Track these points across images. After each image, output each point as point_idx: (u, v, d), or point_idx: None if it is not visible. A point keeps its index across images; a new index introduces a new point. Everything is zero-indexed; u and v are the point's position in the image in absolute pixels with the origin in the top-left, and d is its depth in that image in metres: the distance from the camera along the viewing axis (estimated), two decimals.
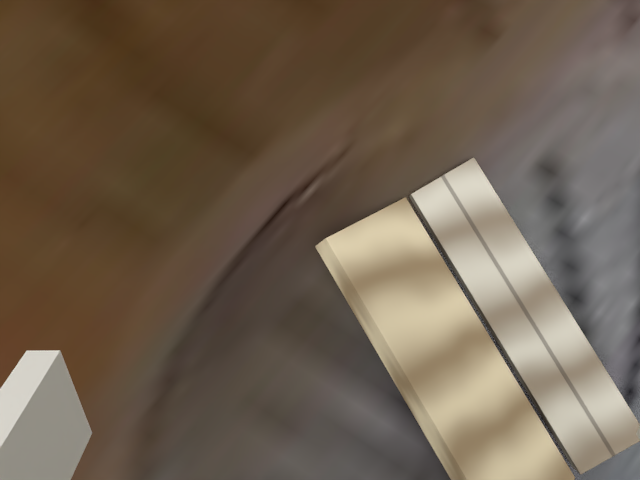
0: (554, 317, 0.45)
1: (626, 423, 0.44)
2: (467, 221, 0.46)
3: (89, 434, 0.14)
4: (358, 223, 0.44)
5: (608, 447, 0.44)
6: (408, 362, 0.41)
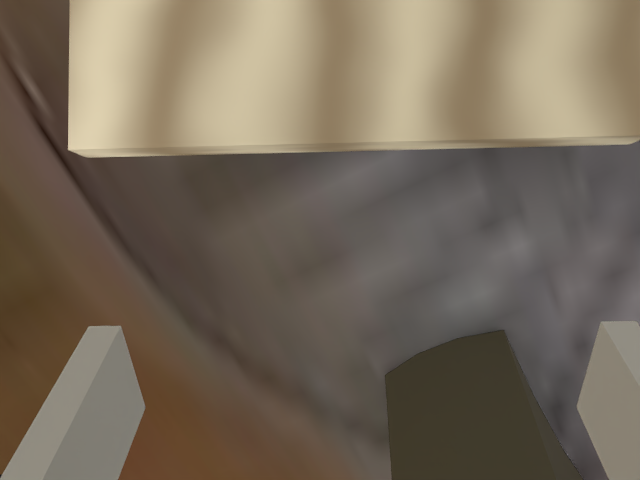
0: None
1: None
2: None
3: (143, 408, 0.14)
4: (71, 77, 0.26)
5: None
6: (304, 126, 0.25)
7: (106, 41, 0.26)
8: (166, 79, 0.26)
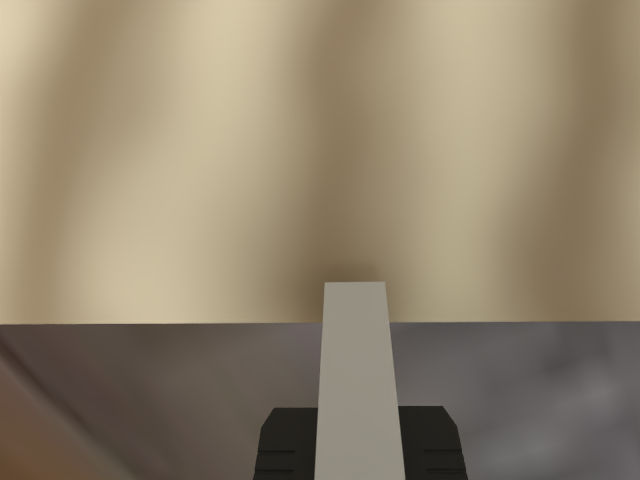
0: None
1: None
2: None
3: None
4: None
5: None
6: (280, 293, 0.15)
7: None
8: (47, 208, 0.15)
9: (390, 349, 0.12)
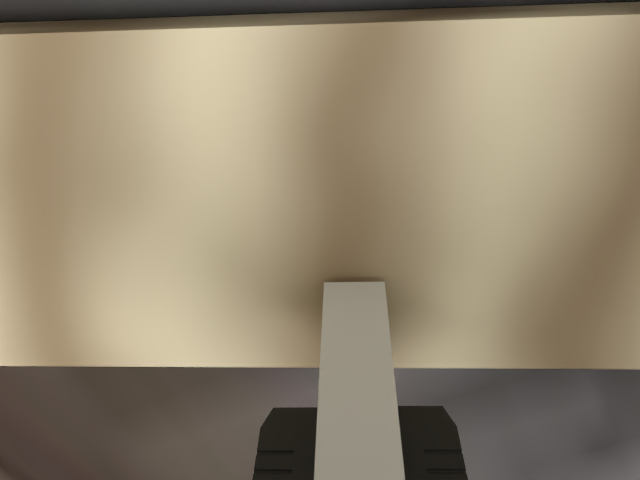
0: None
1: None
2: None
3: None
4: None
5: None
6: (291, 345, 0.15)
7: None
8: (42, 273, 0.15)
9: (390, 349, 0.12)
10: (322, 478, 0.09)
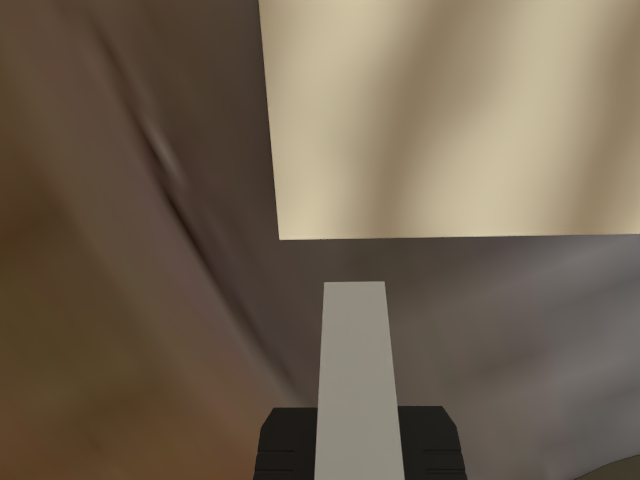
0: None
1: None
2: None
3: None
4: (276, 161, 0.21)
5: None
6: (558, 217, 0.22)
7: (317, 116, 0.20)
8: (395, 163, 0.21)
9: (389, 349, 0.12)
10: (322, 478, 0.09)
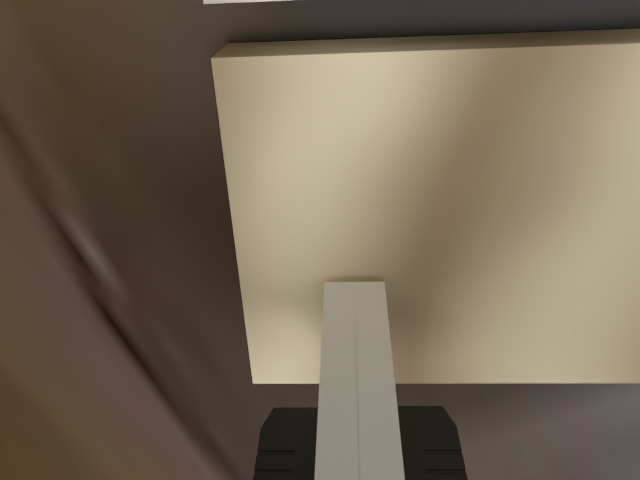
0: None
1: None
2: None
3: None
4: (245, 284, 0.14)
5: None
6: None
7: (305, 226, 0.14)
8: (420, 289, 0.14)
9: (389, 349, 0.12)
10: (323, 478, 0.09)
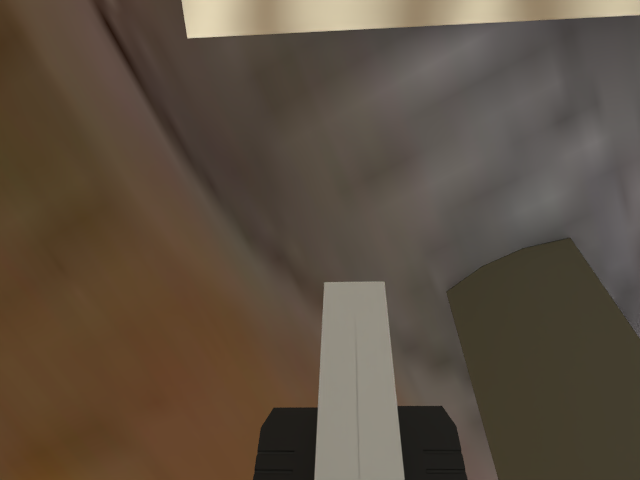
0: None
1: None
2: None
3: None
4: None
5: None
6: (395, 11, 0.29)
7: None
8: None
9: (389, 349, 0.12)
10: (323, 478, 0.09)
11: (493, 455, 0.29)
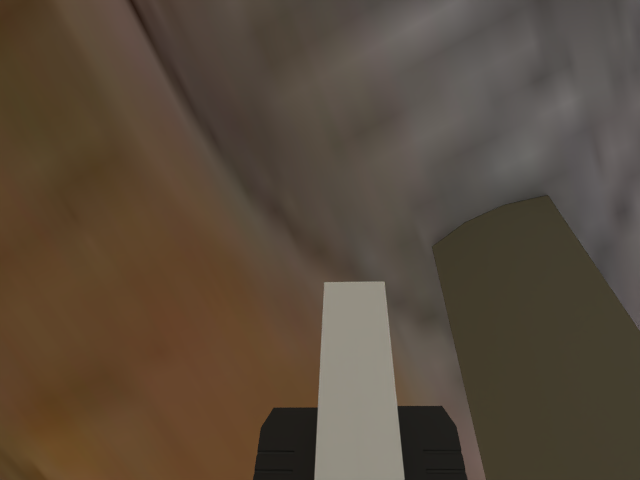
0: None
1: None
2: None
3: None
4: None
5: None
6: None
7: None
8: None
9: (389, 349, 0.12)
10: (323, 478, 0.09)
11: (463, 377, 0.32)
